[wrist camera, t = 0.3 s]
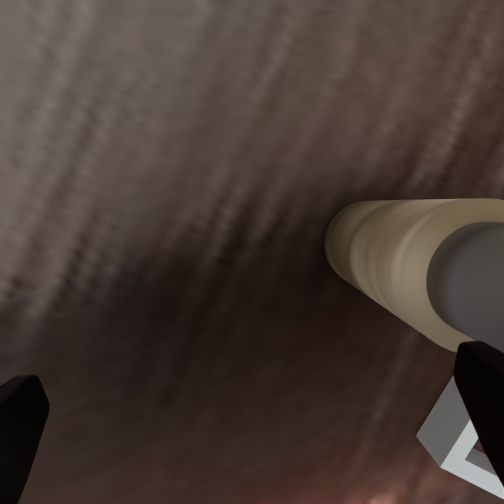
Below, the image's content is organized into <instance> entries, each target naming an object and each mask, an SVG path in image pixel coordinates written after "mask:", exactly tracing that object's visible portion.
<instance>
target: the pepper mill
mask: <svg viewBox="0 0 504 504" xmlns="http://www.w3.org/2000/svg"><path fill="white" fill-rule="evenodd" d="M324 245H325V253H326V257H327V260H328V262H329V264H330V266H331V268H332V269H333V270H334V271H335V273H336V274H337V275H339V276H340V277H341V278H343V279H344V280H345V281H347V282H348V283H350V284H351V285H353V286H354V287H355V288H357V289H358V290H360V291H361V292H363V293H364V294H366V295H367V296H368V297H370V298H371V299H373V300H374V301H376V302H377V303H378V304H380V305H381V306H383V307H384V308H386V309H387V310H389V311H390V312H391V313H393V314H394V315H396V316H397V317H399V318H400V319H402V320H403V321H404V322H406V323H407V324H409V325H410V326H412V327H413V328H414V329H416V330H417V331H419V332H420V333H422V334H423V335H425V336H426V337H427V338H429V339H430V340H432V341H433V342H435V343H436V344H438V345H440V346H441V347H443V348H446V349H448V350H450V351H454V352H457V349H458V346H459V344H460V343H461V342H465V341H483V342H485V343H487V344H489V345H490V346H492V347H494V348H496V349H498V350H500V351H502V352H504V200H499V199H433V200H377V201H360V202H356V203H353V204H350V205H349V206H347V207H345V208H344V209H342V210H341V211H340V212H339V213H338V214H337V215H336V216H335V217H334V218H333V219H332V221H331V223H330V224H329V227H328V229H327V232H326V236H325V244H324Z"/></svg>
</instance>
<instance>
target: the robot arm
mask: <svg viewBox="0 0 504 504" xmlns="http://www.w3.org/2000/svg"><path fill="white" fill-rule="evenodd" d="M454 380H455V384H456V386H457V389H458V391H459V393H460V396H461V398H462V400H463V403H464V405H465V407H466V410H467V412H468V415H469V417H470V419H471V422H472V424H473V426H474V429H475V431H476V433H477V436H478V438H479V441H480V443H481V445H482V447H483V449H484V452H485V454H486V456H487V458H488V459H489V461H490V463H491V465H492V467H493V469H494V471H495V473H496V474H497V476H498V478H499V480H500V482H501V483H502V485H503V487H504V352H502V351H500V350H498V349H496V348H494V347H492V346H490V345H489V344H487V343H485V342H483V341H465V342H461V343H460V344H459V346H458V349H457V355H456V360H455V366H454ZM48 414H49V401H48V398H47V396H46V394H45V391H44V389H43V387H42V384H41V382H40V379H39V378H38V377H37V376H36V375H33V374H30V375H18V376H15V377H13V378H11V379H10V380H8V381H7V382H5V383H4V384H2V385H1V386H0V504H18V502H19V499H20V497H21V495H22V492H23V490H24V487H25V485H26V482H27V479H28V476H29V473H30V470H31V467H32V464H33V461H34V458H35V455H36V452H37V448H38V445H39V442H40V439H41V436H42V433H43V430H44V426H45V423H46V420H47V417H48Z"/></svg>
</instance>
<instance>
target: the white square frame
mask: <svg viewBox="0 0 504 504" xmlns="http://www.w3.org/2000/svg"><path fill="white" fill-rule="evenodd" d="M416 437H417V438H418V439H419V441H420V442H421V443H422V444H423V446H424V447H425V448H426V450H427V451H428V452H429V453H430V455H431V456H432V457H433V459H434V460H435V461H436V462H437V464H438V465H439V466H440V467H441V468H443V469H445V470H447V471H449V472H451V473H453V474H455V475H457V476H459V477H461V478H463V479H465V480H467V481H469V482H471V483H473V484H475V485H477V486H479V487H481V488H483V489H485V490H486V491H488V492H490V493H492V494H494V495H496V496H498V497H500V498H502V499H504V487H503V485H502V483H501V482H500V480H499V478H498V476H497V474H496V473H495V471H494V469H493V467H492V465H491V463H490V461H489V459H488V458H487V456H486V454H484V453H482V452H480V451H478V450H476V449H474V448H472V447H473V446H474V444H475V443H476V441H477V439H478V436H477V433H476V431H475V429H474V426H473V424H472V422H471V419H470V417H469V415H468V412H467V410H466V407H465V405H464V403H463V400H462V398H461V396H460V393H459V391H458V389H457V386H456V384H455V380H454V375H453V376H452V378H451V380H450V381H449V383H448V384H447V386H446V388H445V389H444V391H443V392H442V394H441V396H440V397H439V399H438V401H437V402H436V404H435V405H434V407H433V409H432V410H431V412H430V414H429V415H428V417H427V418H426V420H425V422H424V423H423V425H422V427H421V428H420V430H419V431H418V433H417V435H416Z"/></svg>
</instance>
